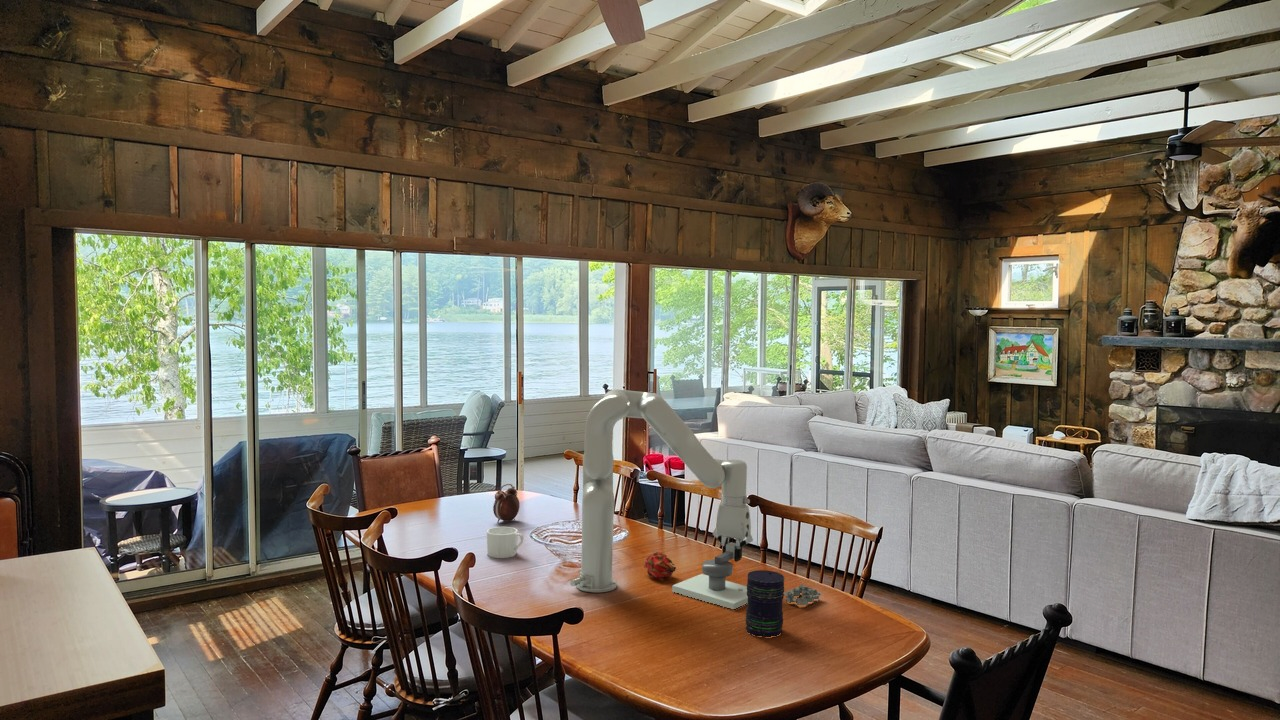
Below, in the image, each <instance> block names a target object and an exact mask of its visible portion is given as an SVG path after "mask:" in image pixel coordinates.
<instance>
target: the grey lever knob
mask: <svg viewBox="0 0 1280 720" xmlns="http://www.w3.org/2000/svg"><path fill="white" fill-rule="evenodd" d="M735 549H736V542H730V541H729V542H728V544H726V552H724V553H720V554H718V555H716V556H714V558H713V559H706V560H704V561H702V569H701V570H702V571H701V572H702V574H704V575H707V576H712V577H730V576H732V575H733V569H734V564H733V563H732V562H731V561H732V560H734V557H735Z"/></svg>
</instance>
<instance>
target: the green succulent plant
mask: <svg viewBox="0 0 1280 720" xmlns="http://www.w3.org/2000/svg"><path fill="white" fill-rule="evenodd" d="M800 593H802V596H800ZM794 596H800V598H799V597H797V599H796V598H794ZM820 596H822V592H821V591H817V589H814V588H812V587H810V586H806V585H805V584H804V583H803V584H800V585H799V586H797V587H793V588H792V589H789V590H786V591H785V590H784V597H785V601H786V600H787V602H789V603H791V602H796V603H797V605H807V604H808V602H813V603H815V602H814V599H819V600H820Z"/></svg>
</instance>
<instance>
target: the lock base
mask: <svg viewBox="0 0 1280 720" xmlns="http://www.w3.org/2000/svg"><path fill="white" fill-rule="evenodd" d="M671 591H672V593H674V592H675V593H674V594H677V593H679V594H678V595H681V594H682V595H681V596H684V597H687V596H688V598H691V597H692V599H694V598H695V600H697V599H699V600H698V601H700V600H702V601H701V602H704V601H705V602H704V603H707V602H709V603H708V604H710V603H713V604H712V605H714V604H717V605H720V606H723V607H722V608H724V607H727V608H731V609H736V608H738V607H740V606H742V605H744V604H746V603H748V596H747V585H744V584H739V583H736V582H733V581H729V580H726V577H712V576H708V575H705V574H704V573H700V574H698V575H695V576H692V577H690V578H687V579H684V580H683V581H680V582H677V583H675V584H673V585H672V590H671ZM717 605H716V606H717ZM746 605H747V604H746ZM720 606H719V607H720ZM744 606H745V605H744ZM742 607H743V606H742ZM727 608H726V609H727ZM740 608H741V607H740ZM738 609H739V608H738ZM736 610H737V609H736Z"/></svg>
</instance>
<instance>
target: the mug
mask: <svg viewBox="0 0 1280 720" xmlns="http://www.w3.org/2000/svg"><path fill="white" fill-rule="evenodd" d="M518 537H520V541H519V543H518ZM524 539H525V538H524V535H523V534H522V533H520V532H519V531H518V529H517V528H515V527H512V526H496V527H495V526H494V527H491V528H488V529H487V530H486V546H487V547H486V549H487V551H486V552H487V556H489V557H490V558H495V559H507V558H512V557H515V556H516V555H517V552H518V549H519V548H520V546H521V545H522V544H523V543H524Z"/></svg>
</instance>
